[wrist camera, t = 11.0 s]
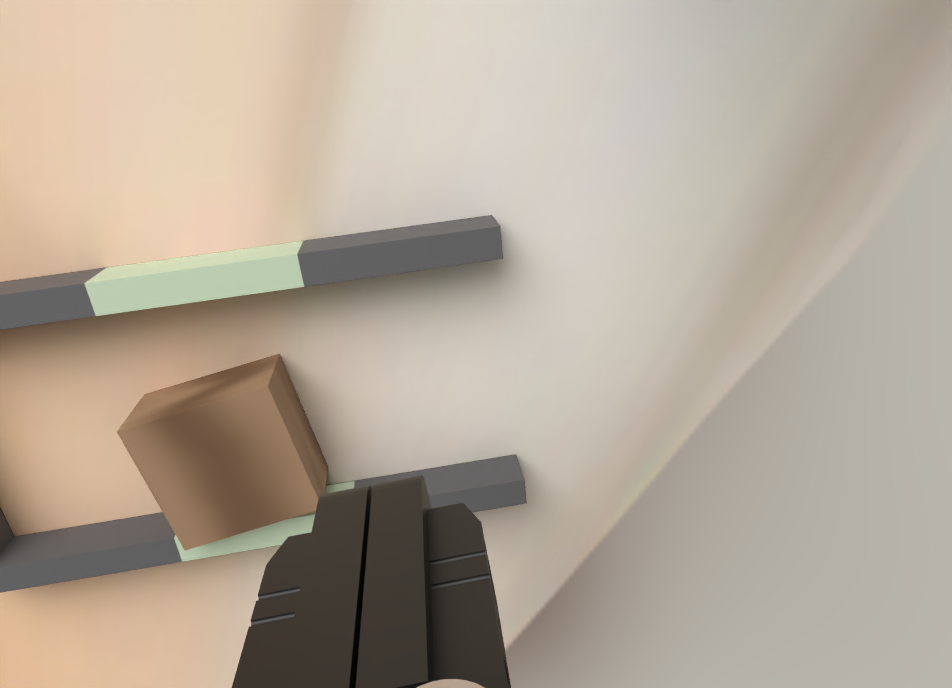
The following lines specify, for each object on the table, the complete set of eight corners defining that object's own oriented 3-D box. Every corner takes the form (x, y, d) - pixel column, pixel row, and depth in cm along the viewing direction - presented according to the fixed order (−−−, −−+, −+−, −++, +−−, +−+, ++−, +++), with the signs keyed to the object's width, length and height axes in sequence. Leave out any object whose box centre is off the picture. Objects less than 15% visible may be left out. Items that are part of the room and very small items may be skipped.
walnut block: (280, 351, 34) (267, 386, 30) (328, 464, 36) (322, 508, 33) (145, 392, 34) (116, 431, 30) (204, 502, 36) (184, 550, 33)
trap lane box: (491, 215, 32) (499, 226, 30) (517, 477, 38) (526, 503, 36) (-135, 300, 30) (-177, 319, 28) (-5, 564, 36) (-32, 597, 33)
